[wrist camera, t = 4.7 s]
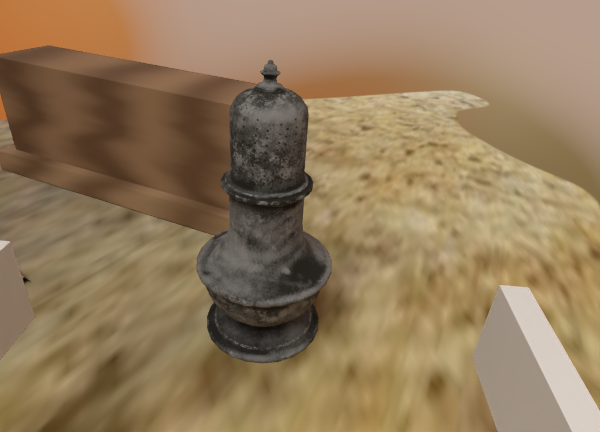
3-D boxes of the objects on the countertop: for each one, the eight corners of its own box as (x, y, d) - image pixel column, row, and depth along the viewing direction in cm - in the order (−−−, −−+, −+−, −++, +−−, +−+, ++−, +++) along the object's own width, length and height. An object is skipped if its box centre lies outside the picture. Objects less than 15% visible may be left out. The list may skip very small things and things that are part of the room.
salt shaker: (208, 278, 24) (195, 39, 18) (318, 280, 24) (344, 48, 18) (191, 368, 19) (165, 77, 13) (330, 368, 19) (371, 88, 13)
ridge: (2, 169, 33) (-33, 55, 29) (68, 142, 38) (46, 42, 34) (241, 243, 27) (241, 112, 23) (284, 200, 32) (290, 86, 27)
